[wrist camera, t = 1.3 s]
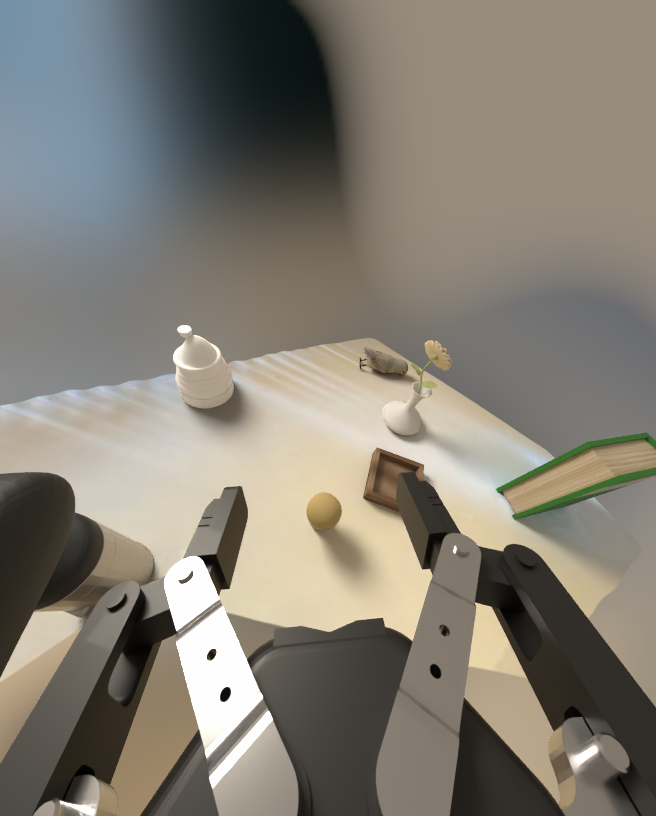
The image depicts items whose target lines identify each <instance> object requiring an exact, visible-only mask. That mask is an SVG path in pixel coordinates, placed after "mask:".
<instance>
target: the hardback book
mask: <svg viewBox="0 0 656 816" xmlns="http://www.w3.org/2000/svg"><path fill="white" fill-rule="evenodd" d="M654 476H656V441H655V440H654V439H653V438H652V437H651V436H650V435H649V434H647V433H642V434H636V435H629V436H623V437H616V438H610V439H604V440H597V441H591V442H586V443H585V444H583V445H581V446H579V447H577V448H575V449H573V450H571V451H569V452H567V453H565V454H563V455H562V456H559V457H557V458H555V459H553V460H552V461H550V462H548V463H546V464H544V465H542V466H540V467H538V468H536V469H534V470H532V471H530V472H528V473H526V474H524V475H522V476H521V477H519V478H517V479H515V480H513V481H511V482H509V483H507V484H505V485H503V486H501V487H499V488H497V489H496V490H497V492H498V493H499V492H503V494H504V495H505V497H506V499H507V500H508V502H509V503H510V505H511V507H512V508H513V510H514V512H515V513H516V514H514V515H512V516H513V518H514V519H518V518H522V517H526V516H530V515H534V514H538V513H542V512H546V511H550V510H554V509H558V508H562V507H566V506H569V505H572V504H575V503H578V502H581V501H583V500H586V499H589V498H592V497H595V496H598V495H601V494H604V493H607V492H610V491H613V490H616V489H619V488H622V487H625V486H628V485H631V484H634V483H637V482H640V481H643V480H645V479H649V478H651V477H654Z"/></svg>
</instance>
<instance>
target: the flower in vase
mask: <svg viewBox="0 0 656 816" xmlns="http://www.w3.org/2000/svg"><path fill="white" fill-rule="evenodd" d="M425 349H426V353H427V355H428V357H429V358H430V359H431V361H430V362H429V363H428V364H427V365H426V366H425V367H424V369H423V370H422V372H420V370H419V368H418V367H417V366H416V365H414V364H413V365H411V366H412V367H413V368H414V369H415V371H416V373H417V374H418V375H421V376H420V382H414V383H413V385H412V389H413V393H412V396H411V398H410V399H409V401H408V402H403V401H392V402H390V403H388V404H386V405H385V406H384V408H383V411H382V416H383V419H384V422H385V423H386V425H387V426H388V427H389V428H390V429H391V430H392V431H394V432H396V433H398V434H401V435H413V434H415V433H417V432H418V431H419V430H420V428H421V424H422V420H421V416H420V414H419V412H418V411H417V410H416V408H415V406H416V405H417V403H418V402H419V401H420V400H422V399H423V398H426V397H429V396H431V394H432V390H431V388H435V387H437V385H436V384H435V383H433V382H432V381H426V382H422V373H423V371H424V370H425V368H426V367H427V366H428V365H429V364H430V363H431V362H433V363H434V364H435V365H436V366H437V367H439V368H440V369H443V370H444V371H446V370H448V369H450V367H451V364H450V363H449V362H452V360H451V359H450V356H449V355H447V354H446V352H447V350H446V349H445V348H443V349H442V346H441V345H440V344H439V343H438V342H437V341H436V342H435V343H434V342H433V341H432V340H431V341H429V340H428V342H426V343H425Z"/></svg>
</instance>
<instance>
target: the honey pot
mask: <svg viewBox="0 0 656 816" xmlns="http://www.w3.org/2000/svg"><path fill="white" fill-rule="evenodd" d="M177 330H178V332H179V334H180V335H181V336H183V337H185V338H187V337H189V338H187V339H186V341H185V342H184V344H183V345H182V346H180V347H179V348H178V349H177V350H176V351H175V352H174V355H173V361H174V363H175V365H176V366H177V370H176V371H177V372H176V383H177V386H178V389H179V391H180V393H181V396H182V398H183V400H184V401H185V402H186V403H187V404H189V405H191V406H193V407H197V408H205V409H207V408H214V407H217V406H220V405H222V404H223V403H225V402H226V401H227V400H228V399H230V397H231V396H232V394H233V391H234V385H233V378H232V372H231V370H230V368H229V366H228V365H227V364H226V362H225V360H224V359H223V357H222V356H221V352H220V350H219V349H218V348H217V347H216V346H215V345H213V344H211V343H209V342H208V341H207V340H205V339H204V338H202V337H200V336H195V335H194V336H193V335H191V327H189V326H186V325H183V326H180V327H178V329H177ZM178 357H179V359H178Z"/></svg>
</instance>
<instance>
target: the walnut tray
mask: <svg viewBox="0 0 656 816" xmlns="http://www.w3.org/2000/svg"><path fill="white" fill-rule="evenodd" d="M412 471H413V472H415V474H416V476H417V478H418V479H419V481H423V471H424V465H423V464H420V463H417V462H415V461H412V460H409V459H407V458H404V457H401V456H398V455H396V454H393V453H390V452H388V451H385V450H382V449H379V448H376V450H375V451H374V453H373V455H372V460H371V465H370V469H369V474H368V478H367V483H366V487H365V492H364V496H363V498H365V499H367V500H370V501H373V502H375V503H378V504H380V505H383V506H386V507H388V508H391V509H394V510H396V511H399V508H398V505H397V500H396V490H397V480H398V473H400V472H412ZM399 512H400V511H399Z"/></svg>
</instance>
